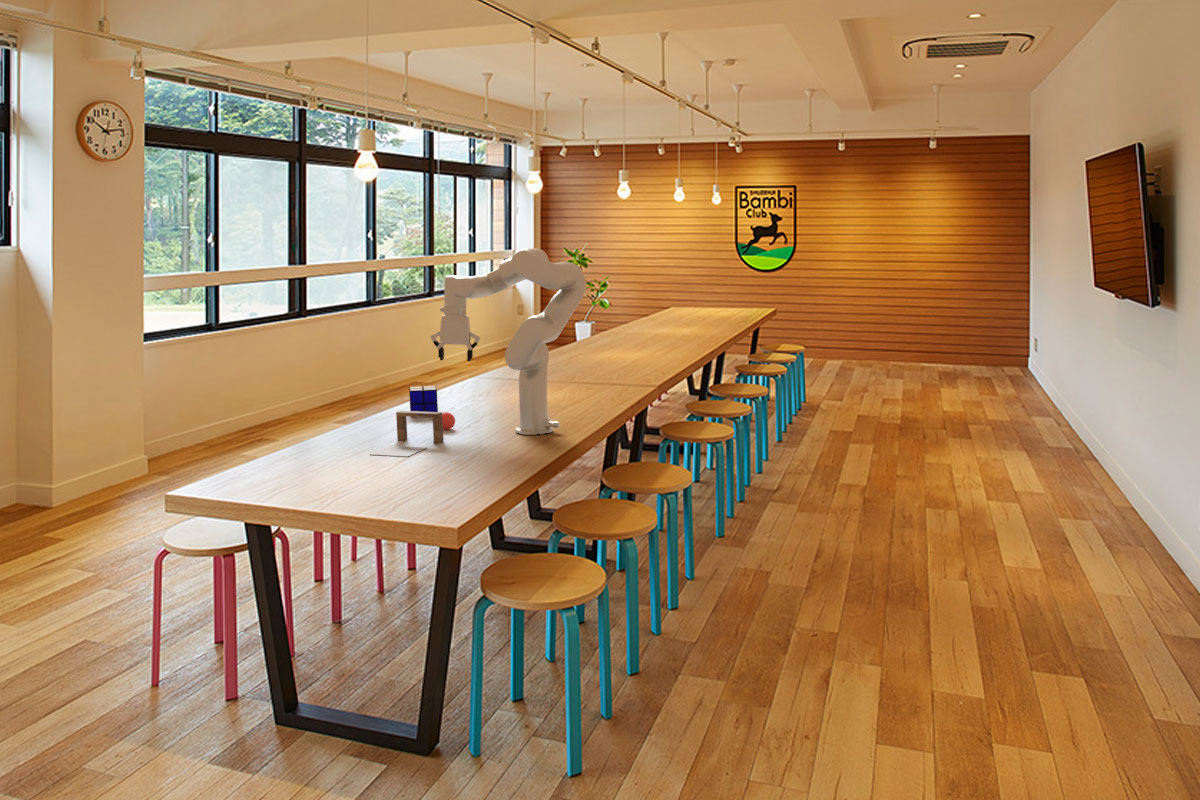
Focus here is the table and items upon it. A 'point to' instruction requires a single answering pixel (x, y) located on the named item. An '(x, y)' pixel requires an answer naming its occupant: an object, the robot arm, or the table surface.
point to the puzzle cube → (423, 399)
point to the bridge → (402, 416)
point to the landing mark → (398, 451)
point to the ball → (448, 420)
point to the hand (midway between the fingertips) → (455, 360)
